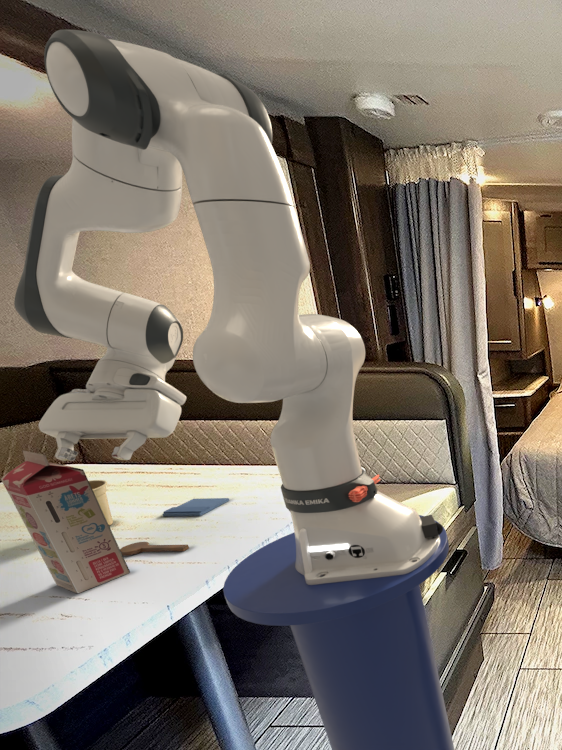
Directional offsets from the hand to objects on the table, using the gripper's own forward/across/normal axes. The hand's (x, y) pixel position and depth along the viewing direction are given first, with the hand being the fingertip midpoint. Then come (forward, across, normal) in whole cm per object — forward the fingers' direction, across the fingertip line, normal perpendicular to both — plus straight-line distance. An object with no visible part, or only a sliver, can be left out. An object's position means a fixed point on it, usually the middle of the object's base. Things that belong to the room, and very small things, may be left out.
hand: (92, 459), depth 83 cm
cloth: (-2, -6, +28) cm, 28 cm away
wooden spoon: (+12, +2, +14) cm, 19 cm away
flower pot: (+5, -20, +21) cm, 30 cm away
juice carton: (+18, 0, +8) cm, 20 cm away
